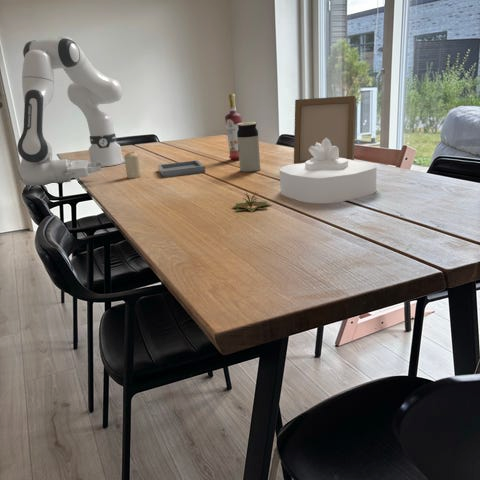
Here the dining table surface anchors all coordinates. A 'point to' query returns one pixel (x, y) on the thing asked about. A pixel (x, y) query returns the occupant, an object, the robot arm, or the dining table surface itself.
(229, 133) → the liquor
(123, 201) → the dining table surface
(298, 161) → the photo frame
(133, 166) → the candle
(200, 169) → the dish
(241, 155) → the travel mug
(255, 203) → the olive green leafy cluster
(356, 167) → the tissue box
